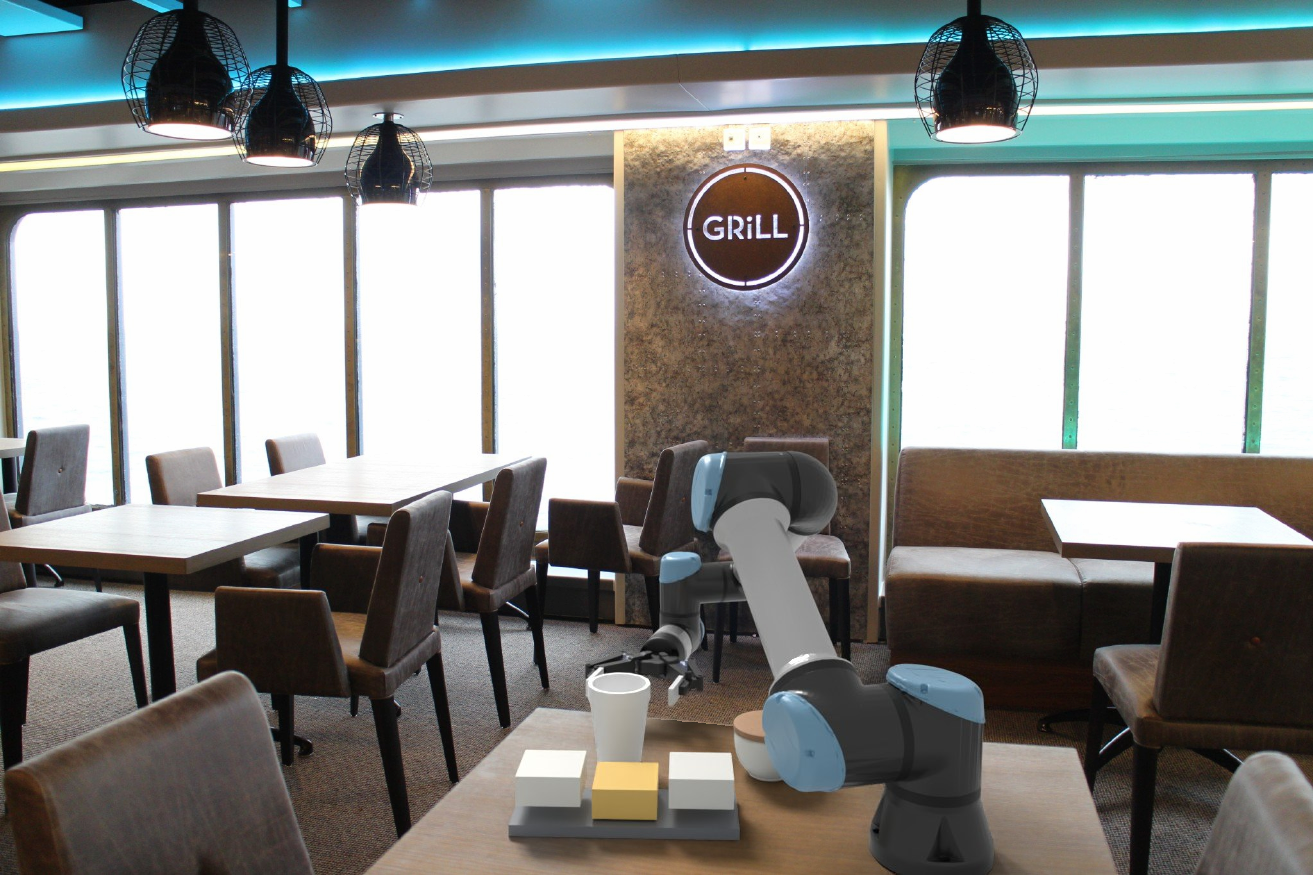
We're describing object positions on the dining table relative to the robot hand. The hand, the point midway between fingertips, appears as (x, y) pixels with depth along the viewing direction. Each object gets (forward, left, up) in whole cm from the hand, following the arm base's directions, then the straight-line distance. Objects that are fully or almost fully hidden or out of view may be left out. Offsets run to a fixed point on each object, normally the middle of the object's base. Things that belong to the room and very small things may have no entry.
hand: (628, 693), depth 153 cm
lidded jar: (-20, -10, -10) cm, 25 cm away
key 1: (-9, +22, -6) cm, 25 cm away
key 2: (-23, +8, -6) cm, 25 cm away
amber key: (-16, +15, -7) cm, 23 cm away
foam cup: (-3, +5, -10) cm, 11 cm away
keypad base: (-16, +15, -9) cm, 24 cm away
